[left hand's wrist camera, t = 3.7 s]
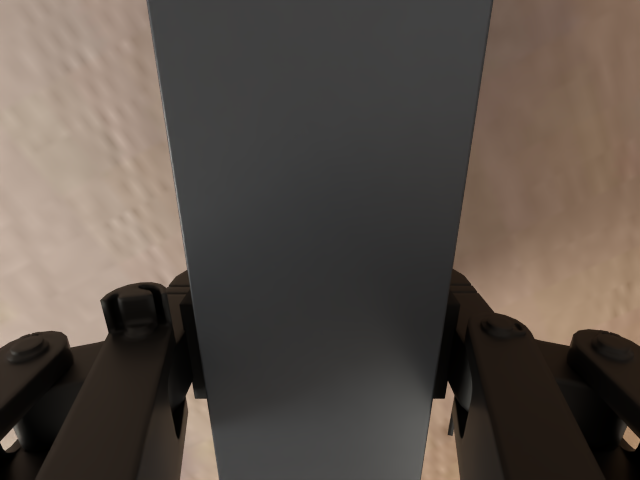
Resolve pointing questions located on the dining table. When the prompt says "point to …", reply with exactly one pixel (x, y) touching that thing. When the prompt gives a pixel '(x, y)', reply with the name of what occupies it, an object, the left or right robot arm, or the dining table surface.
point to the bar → (319, 218)
